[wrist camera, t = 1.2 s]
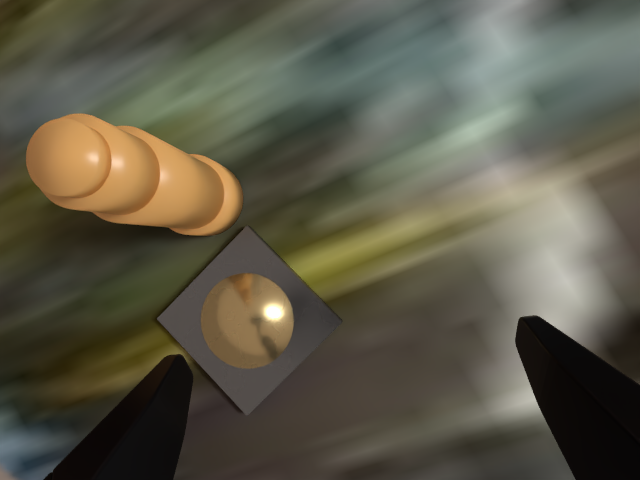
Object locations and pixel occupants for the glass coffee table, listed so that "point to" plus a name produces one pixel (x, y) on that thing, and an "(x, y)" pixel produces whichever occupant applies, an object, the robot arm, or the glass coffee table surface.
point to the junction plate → (249, 320)
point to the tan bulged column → (131, 177)
